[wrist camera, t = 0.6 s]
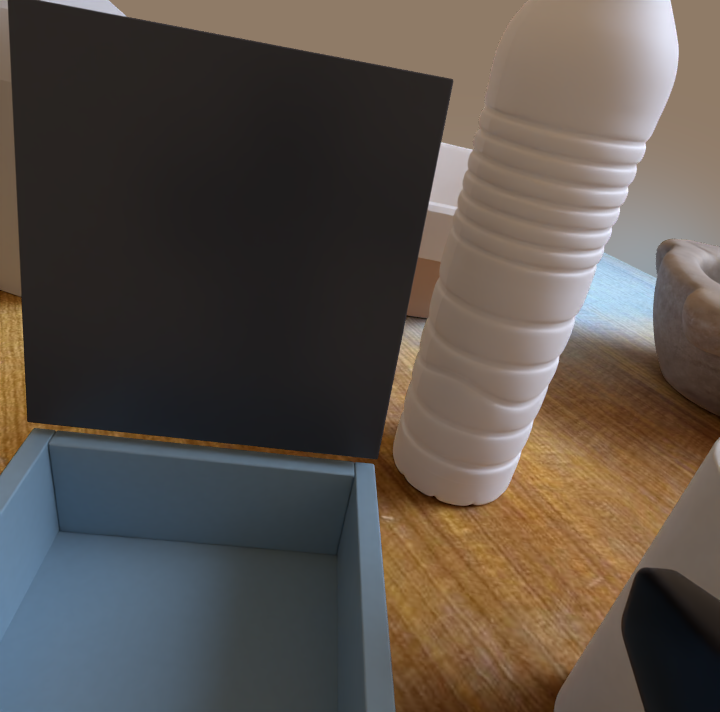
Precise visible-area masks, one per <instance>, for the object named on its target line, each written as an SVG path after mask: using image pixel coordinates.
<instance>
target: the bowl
mask: <svg viewBox="0 0 720 712" xmlns="http://www.w3.org/2000/svg"><path fill="white" fill-rule="evenodd" d="M471 151H472V149H467V148H463V147H459V146H454V145H451V144H446V143H442V142H441V145H440V150H439V155H438V160H437V165H436V170H435V175H434V180H433V185H432V190H431V195H430V200H429V205H428V210H427V215H426V220H425V225H424V230H423V235H422V240H421V245H420V250H419V255H418V260H417V265H416V270H415V275H414V280H413V285H412V290H411V295H410V300H409V305H408V310H407V315H408V316H415V317H422V318H428V317H429V307H430V302H431V298H432V294H433V291H434V287H435V284H436V282H437V280H438V278H439V277H440V274H439V269H440V264H441V259H442V255H443V252H444V248H445V245H446V242H447V239H448V235H449V232H450V230H451V228H452V226H453V216H454V213H455V210H456V209H457V208H458V204H457V202H458V197H459V194H460V192H461V190H462V189H463V185H462V183H463V178H464V175H465V172H466V171H467V170H468V169H469V168H468V159H469V155H470V153H471Z"/></svg>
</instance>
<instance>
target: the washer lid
mask: <svg viewBox="0 0 720 712" xmlns="http://www.w3.org/2000/svg"><path fill="white" fill-rule="evenodd" d="M8 21H9V42H10V64H11V85H12V106H13V127H14V149H15V170H16V191H17V212H18V234H19V255H20V276H21V298H22V319H23V340H24V361H25V383H26V404H27V421H28V422H33V423H42V424H52V425H61V426H70V427H80V428H89V429H98V430H108V431H117V432H126V433H136V434H145V435H155V436H164V437H173V438H183V439H192V440H201V441H211V442H220V443H229V444H239V445H248V446H257V447H267V448H276V449H285V450H295V451H304V452H313V453H323V454H332V455H341V456H351V457H360V458H370V459H378V455H379V450H380V445H381V440H382V435H383V430H384V425H385V420H386V415H387V410H388V405H389V400H390V395H391V390H392V385H393V380H394V375H395V370H396V365H397V360H398V355H399V350H400V345H401V340H402V335H403V330H404V325H405V320H406V315H407V310H408V305H409V300H410V295H411V290H412V285H413V280H414V275H415V270H416V265H417V260H418V255H419V250H420V245H421V240H422V235H423V230H424V225H425V220H426V215H427V210H428V205H429V200H430V195H431V190H432V185H433V180H434V175H435V170H436V165H437V160H438V155H439V150H440V145H441V140H442V135H443V130H444V125H445V120H446V115H447V110H448V105H449V100H450V95H451V90H452V85H453V79H449V78H444V77H439V76H434V75H428V74H423V73H418V72H413V71H408V70H402V69H397V68H392V67H386V66H381V65H376V64H371V63H366V62H360V61H355V60H350V59H344V58H339V57H334V56H329V55H324V54H319V53H313V52H308V51H303V50H298V49H292V48H287V47H282V46H276V45H271V44H266V43H261V42H256V41H251V40H245V39H240V38H234V37H230V36H224V35H219V34H214V33H209V32H204V31H198V30H193V29H188V28H182V27H177V26H172V25H167V24H162V23H156V22H151V21H146V20H140V19H136V18H130V17H125V16H120V15H115V14H109V13H104V12H99V11H94V10H89V9H83V8H78V7H73V6H68V5H62V4H57V3H52V2H47V1H41V0H8Z"/></svg>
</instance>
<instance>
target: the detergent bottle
mask: <svg viewBox="0 0 720 712" xmlns="http://www.w3.org/2000/svg"><path fill="white" fill-rule="evenodd" d="M644 567H650V568H662V569H671V570H675V571H677V572H679V573H680V574H682V575H683V576H685V577H686V578H688V579H689V580H691V581H692V582H694V583H695V584H697V585H698V586H699V587H701V588H702V589H704V590H705V591H707V592H708V593H710V594H711V595H713V596H714V597H716V598H717V599H719V600H720V438H719V439H718V440H717V441H716V442H715V443H714V445H713V446H712V448H711V450H710V451H709V453H708V454H707V456H706V458H705V459H704V461H703V462H702V464H701V466H700V467H699V469H698V470H697V472H696V474H695V475H694V477H693V478H692V480H691V482H690V483H689V485H688V486H687V488H686V489H685V491H684V493H683V494H682V496H681V497H680V499H679V501H678V502H677V504H676V505H675V507H674V509H673V510H672V512H671V513H670V515H669V517H668V518H667V520H666V521H665V523H664V524H663V526H662V528H661V529H660V531H659V532H658V534H657V536H656V537H655V539H654V540H653V542H652V544H651V545H650V547H649V548H648V550H647V552H646V553H645V555H644V556H643V558H642V559H641V561H640V563H639V564H638V566H637V567H636V569H635V571H634V572H633V574H632V575H631V577H630V579H629V580H628V582H627V583H626V585H625V587H624V588H623V590H622V591H621V593H620V594H619V596H618V598H617V599H616V601H615V602H614V604H613V606H612V607H611V609H610V610H609V612H608V614H607V615H606V617H605V618H604V620H603V622H602V623H601V625H600V626H599V628H598V629H597V631H596V633H595V634H594V636H593V637H592V639H591V641H590V642H589V644H588V645H587V647H586V649H585V650H584V652H583V653H582V655H581V657H580V658H579V660H578V661H577V663H576V664H575V666H574V668H573V669H572V671H571V672H570V674H569V676H568V677H567V679H566V680H565V682H564V684H563V685H562V687H561V689H560V691H559V693H558V695H557V698H556V701H555V707H554V712H645V711H644V707H643V704H642V701H641V697H640V694H639V691H638V687H637V684H636V681H635V677H634V674H633V671H632V667H631V664H630V661H629V657H628V654H627V651H626V647H625V644H624V641H623V637H622V631H621V619H622V614H623V611H624V608H625V605H626V602H627V599H628V596H629V592H630V589H631V586H632V583H633V580H634V577H635V575H636V573H637V572H638V571H639V570H640V569H641V568H644Z"/></svg>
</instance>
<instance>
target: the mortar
mask: <svg viewBox="0 0 720 712" xmlns="http://www.w3.org/2000/svg"><path fill="white" fill-rule="evenodd" d="M656 270H657V280H656V286H655V292H654V304H653V327H654V339H655V347H656V353H657V357H658V361H659V365H660V369H661V372H662V374H663V376H664V377H665V379H666V380H667V382H668V383H669V384H670V385H671V386H672V387H673V388H675V389H676V390H677V391H678V392H679V393H680V394H682V395H683V396H685V397H686V398H688V399H689V400H690V401H692V402H694V403H695V404H697V405H699V406H700V407H702V408H704V409H706V410H707V411H709V412H711V413H713V414H716V415H718V416H720V246H715V245H709V244H704V243H700V242H696V241H691V240H683V239H668V240H665V241H663V242H662V243H661V244H660V245H659V246H658V248H657V253H656Z"/></svg>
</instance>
